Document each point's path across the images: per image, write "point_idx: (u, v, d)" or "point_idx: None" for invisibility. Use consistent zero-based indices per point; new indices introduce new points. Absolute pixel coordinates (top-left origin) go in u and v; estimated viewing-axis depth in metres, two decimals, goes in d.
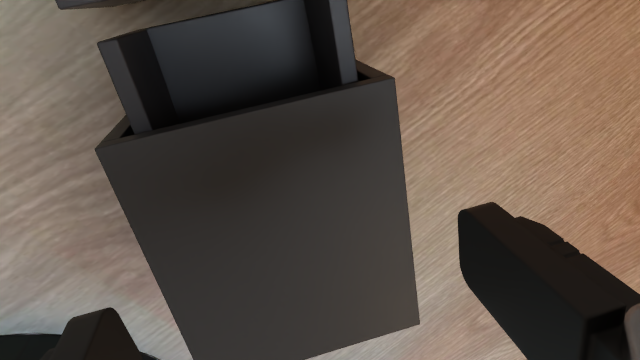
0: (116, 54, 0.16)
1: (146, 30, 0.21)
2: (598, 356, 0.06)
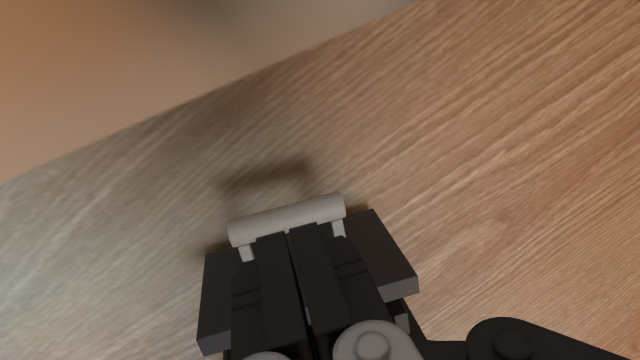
0: None
1: None
2: None
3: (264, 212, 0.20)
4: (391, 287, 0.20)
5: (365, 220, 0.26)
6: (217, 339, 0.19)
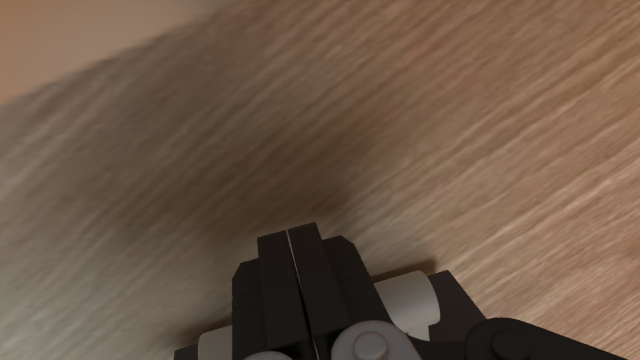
0: None
1: None
2: None
3: None
4: None
5: (441, 293, 0.15)
6: None
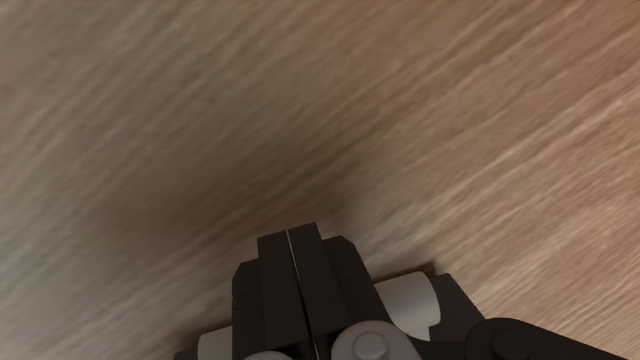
0: None
1: None
2: None
3: None
4: None
5: (441, 296, 0.15)
6: None
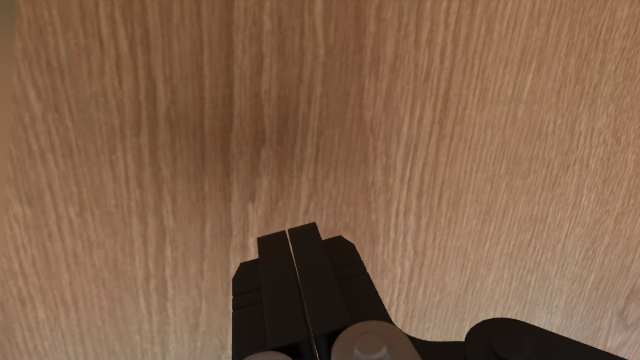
0: None
1: None
2: None
3: None
4: None
5: None
6: None
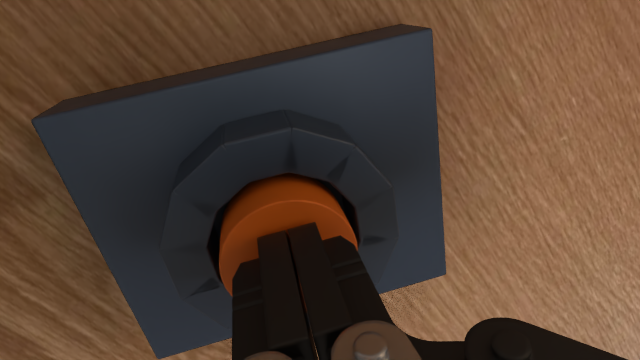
0: None
1: None
2: None
3: None
4: None
5: None
6: None
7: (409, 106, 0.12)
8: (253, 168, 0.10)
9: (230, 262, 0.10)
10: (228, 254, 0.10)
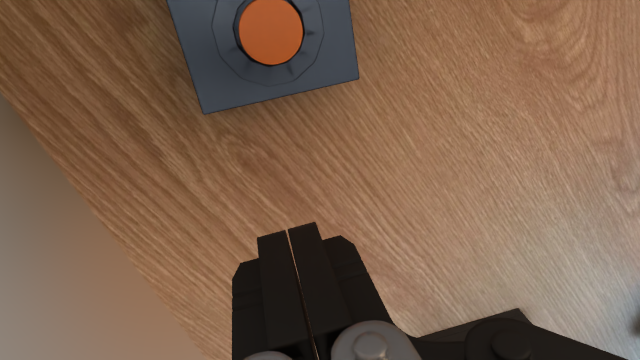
0: None
1: None
2: None
3: None
4: None
5: None
6: None
7: None
8: None
9: (243, 28, 0.22)
10: (243, 23, 0.22)
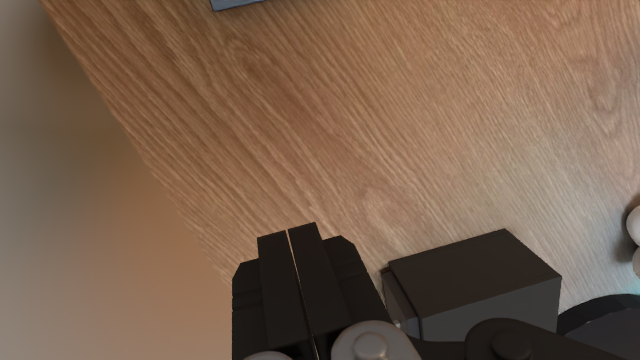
0: None
1: None
2: None
3: None
4: (410, 330, 0.39)
5: (386, 286, 0.44)
6: None
7: None
8: None
9: None
10: None
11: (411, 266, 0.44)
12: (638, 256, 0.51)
